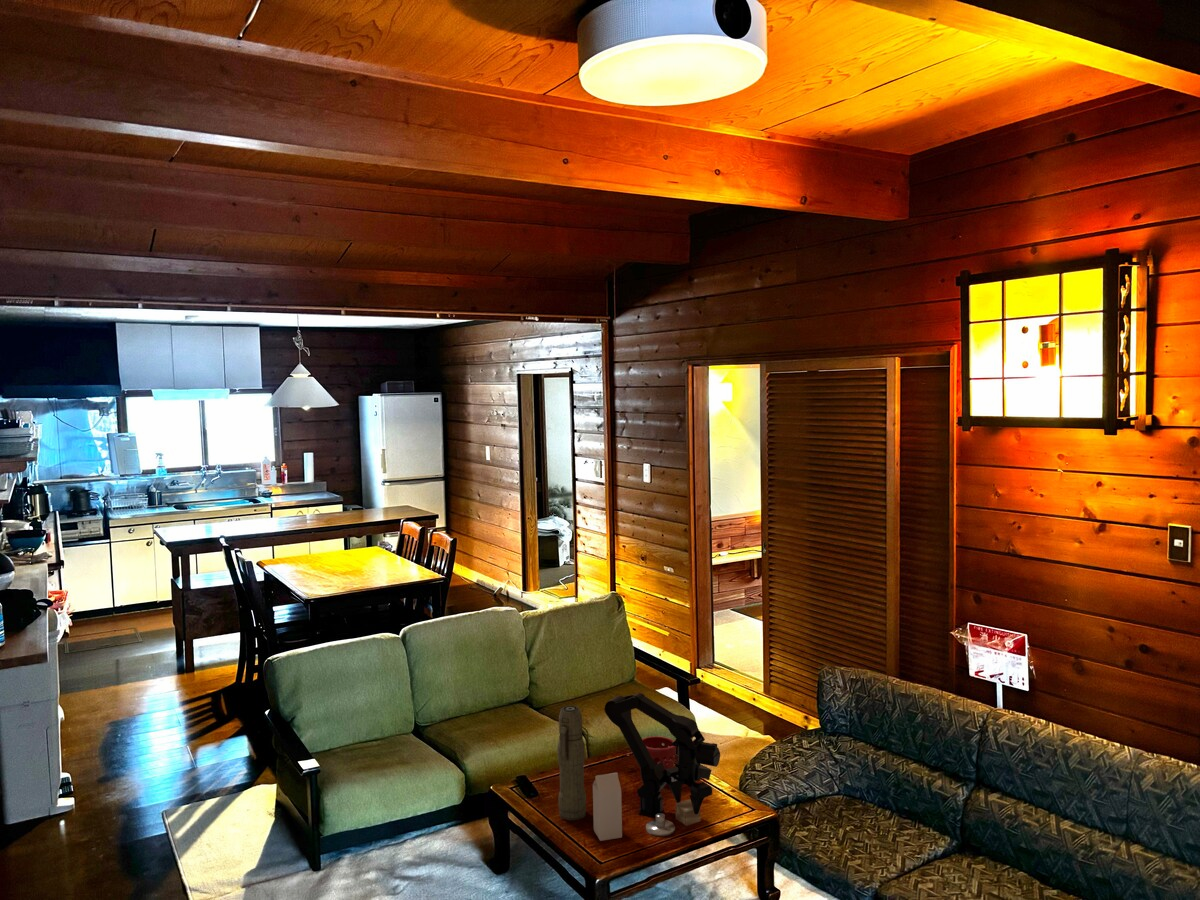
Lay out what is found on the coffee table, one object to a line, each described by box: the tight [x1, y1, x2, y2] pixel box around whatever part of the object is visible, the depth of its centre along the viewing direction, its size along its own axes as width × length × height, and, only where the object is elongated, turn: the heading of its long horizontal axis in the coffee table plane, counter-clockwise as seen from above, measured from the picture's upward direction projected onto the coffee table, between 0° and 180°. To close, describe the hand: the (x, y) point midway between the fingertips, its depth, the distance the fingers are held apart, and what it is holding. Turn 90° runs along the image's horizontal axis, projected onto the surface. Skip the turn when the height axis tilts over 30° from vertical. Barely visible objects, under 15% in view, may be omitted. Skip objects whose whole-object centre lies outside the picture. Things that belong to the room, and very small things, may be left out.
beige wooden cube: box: [674, 798, 701, 827], centre depth 282 cm, size 6×6×5 cm
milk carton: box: [592, 772, 623, 842], centre depth 274 cm, size 7×7×19 cm
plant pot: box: [642, 735, 677, 769], centre depth 317 cm, size 13×13×12 cm
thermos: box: [557, 705, 587, 821], centre depth 287 cm, size 9×12×35 cm
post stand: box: [645, 812, 676, 837], centre depth 277 cm, size 9×9×4 cm
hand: (687, 808), depth 282 cm, fingers open, 9 cm apart
